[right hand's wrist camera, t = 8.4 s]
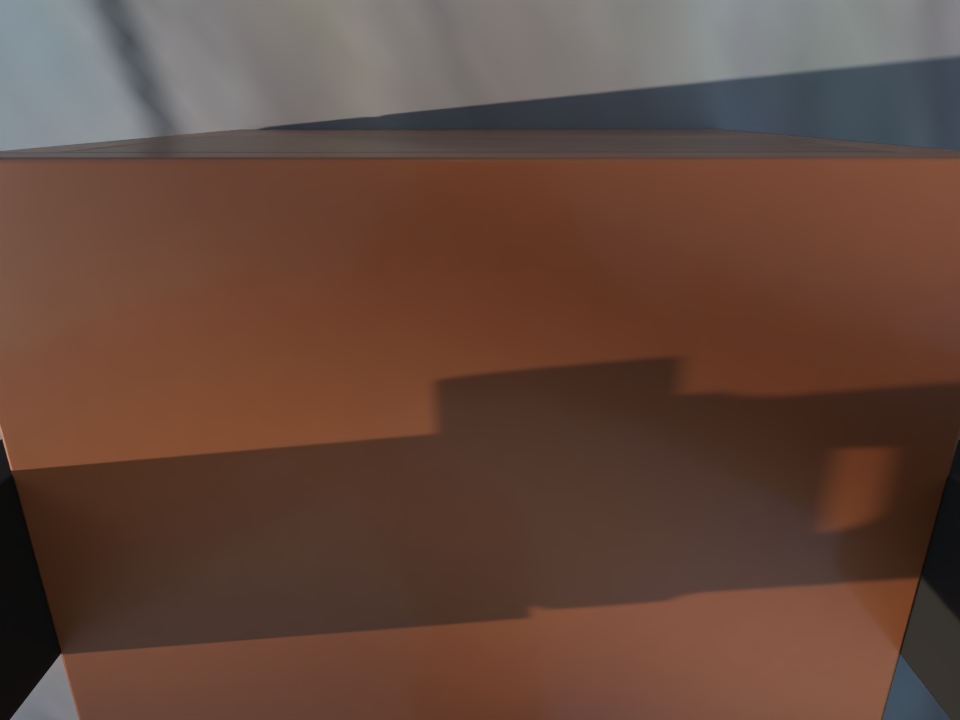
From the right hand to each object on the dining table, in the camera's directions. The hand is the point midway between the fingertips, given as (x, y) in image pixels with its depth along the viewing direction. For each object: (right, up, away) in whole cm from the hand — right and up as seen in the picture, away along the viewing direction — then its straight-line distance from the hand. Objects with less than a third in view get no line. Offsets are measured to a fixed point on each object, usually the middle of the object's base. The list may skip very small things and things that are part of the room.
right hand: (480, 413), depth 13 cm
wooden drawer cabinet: (0, -2, +6) cm, 6 cm away
